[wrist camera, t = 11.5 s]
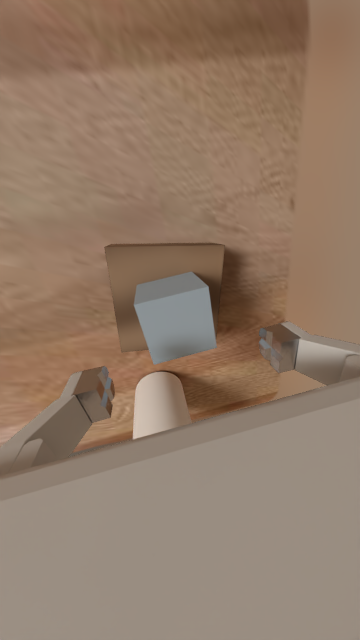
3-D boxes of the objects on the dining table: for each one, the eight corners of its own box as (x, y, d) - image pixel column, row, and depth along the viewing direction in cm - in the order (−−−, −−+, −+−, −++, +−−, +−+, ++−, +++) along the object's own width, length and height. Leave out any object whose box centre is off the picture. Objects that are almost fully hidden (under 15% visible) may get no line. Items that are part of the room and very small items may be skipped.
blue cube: (136, 284, 17) (133, 305, 12) (191, 271, 17) (208, 286, 13) (151, 332, 19) (153, 364, 14) (200, 320, 19) (216, 347, 15)
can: (126, 381, 25) (114, 492, 15) (170, 362, 25) (190, 459, 15) (148, 410, 28) (151, 519, 18) (188, 393, 28) (215, 492, 18)
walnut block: (112, 243, 19) (104, 247, 15) (210, 242, 20) (224, 245, 17) (124, 333, 23) (121, 352, 19) (205, 326, 24) (215, 343, 21)
